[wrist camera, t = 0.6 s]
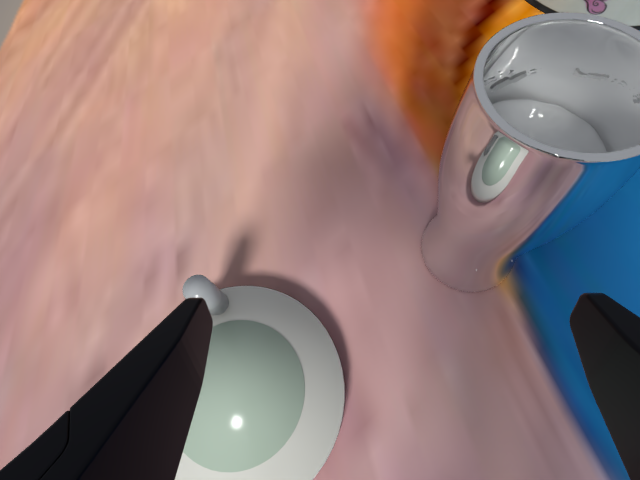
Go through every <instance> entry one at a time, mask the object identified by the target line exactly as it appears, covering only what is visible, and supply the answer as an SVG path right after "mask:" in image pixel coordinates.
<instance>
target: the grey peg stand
mask: <svg viewBox="0 0 640 480" xmlns="http://www.w3.org/2000/svg"><path fill="white" fill-rule="evenodd" d="M183 295H184V297H185V298H186V299H187V298H203V299H204V300H205V301H206V304H207V306H208V309H209V311H210V314H211V316H212V320H213V328H212V334H211V340H210V345H209V351H208V357H207V363H206V368H205V374H204V379H203V384H202V388H201V392H200V395H199V398H198V402H197V405H196V409H195V412H194V416H193V419H192V422H191V426H190V429H189V433H188V436H187V440H186V443H185V446H184V450H183V453H182V457H181V460H180V464H179V467H178V470H177V474H176V477H175V480H313V479H314V478H315V476H316V475H317V473H318V472H319V471H320V469H321V468H322V466H323V465H324V463H325V462H326V460H327V459H328V457H329V455H330V453H331V451H332V449H333V447H334V445H335V442H336V439H337V437H338V434H339V431H340V427H341V423H342V419H343V413H344V404H345V384H344V376H343V370H342V366H341V362H340V358H339V356H338V353H337V351H336V348H335V346H334V343H333V341H332V339H331V337H330V336H329V334H328V332H327V330H326V329H325V327H324V326H323V325H322V323H321V322H320V321H319V319H318V318H317V317H316V316H315V315H314V314H313V313H312V312H311V311H310V310H309V309H308V308H306V307H305V306H304V305H303V304H301V303H300V302H299V301H297V300H295V299H294V298H292V297H290V296H288V295H286V294H284V293H281V292H279V291H276V290H273V289H269V288H265V287H258V286H235V287H228V288H224V289H219V288H218V287H217V286H215V285H214V284H213V283H212V282H211V281H210V280H208V279H207V278H206V277H205V276H203V275H194V276H192V277H190V278H189V279H187V281H186V282H185V283H184V286H183Z"/></svg>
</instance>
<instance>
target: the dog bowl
mask: <svg viewBox="0 0 640 480" xmlns="http://www.w3.org/2000/svg"><path fill="white" fill-rule="evenodd" d="M525 1H527V2H528V3H529V4H531V5H532V6H534V7H535V8H537V9H538V10H540V11H542V12H544V13H546V14H548V13H559V12H571V13H584V14H591V15H596V16H601V17H605V18H609V19H612V20H615V21H618V22H621V23H624V24H626V25H628V26H631V27H633V28H635V29H637V30H640V0H525Z"/></svg>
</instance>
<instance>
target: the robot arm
mask: <svg viewBox="0 0 640 480" xmlns="http://www.w3.org/2000/svg"><path fill="white" fill-rule="evenodd" d="M570 326H571V330H572V333H573V336H574V339H575V342H576V346H577V349H578V352H579V355H580V358H581V362H582V365H583V368H584V371H585V374H586V377H587V380H588V383H589V386H590V389H591V391H592V393H593V396H594V398H595V400H596V403H597V405H598V407H599V409H600V412H601V414H602V416H603V418H604V421H605V423H606V425H607V428H608V430H609V432H610V434H611V437H612V439H613V441H614V443H615V446H616V448H617V450H618V452H619V455H620V457H621V459H622V461H623V464H624V466H625V468H626V470H627V473H628V475H629V477H630V479H631V480H640V318H639V317H638V316H637V315H635V314H634V313H632V312H631V311H629V310H628V309H626V308H625V307H623V306H622V305H620V304H619V303H617V302H616V301H614V300H613V299H611V298H610V297H608V296H607V295H605V294H603V293H584V294H582V295H581V296H580V297H579V299H578V301H577V303H576V305H575V307H574V309H573V311H572V313H571V316H570ZM212 328H213V320H212V316H211V314H210V311H209V309H208V306H207V304H206V301H205V300H204V299H203V298H187V299H185V300H184V301H183V302H182V303H181V304H180V305H179V306H178V307H177V308H176V309H175V310H174V311H172V312H171V313H170V314H169V315H168V316H167V317H166V318H165V319H164V320H163V321H162V322H161V323H160V324H159V325H158V326H157V327H155V328H154V329H153V330H152V331H151V332H150V333H149V334H148V335H147V336H146V337H145V338H144V339H143V340H142V341H141V342H140V343H139V344H137V345H136V346H135V347H134V348H133V349H132V350H131V351H130V352H129V353H128V354H127V355H126V356H125V357H124V358H123V359H122V360H121V361H119V362H118V363H117V364H116V365H115V366H114V367H113V368H112V369H111V370H110V371H109V372H108V373H107V374H106V375H105V376H104V377H102V378H101V379H100V380H99V381H98V382H97V383H96V384H95V385H94V386H93V387H92V388H91V389H90V390H89V391H88V392H87V393H86V394H84V395H83V396H82V397H81V398H80V399H79V400H78V401H77V402H76V403H75V404H74V405H73V406H72V407H71V408H70V411H66V412H65V413H64V414H63V415H62V416H61V417H60V418H59V419H58V420H57V421H56V422H55V423H54V424H53V425H51V426H50V427H49V428H48V429H47V430H46V431H45V432H44V433H43V434H42V435H40V436H39V437H38V438H37V439H36V440H35V441H34V442H33V443H32V444H31V445H29V446H28V447H27V448H26V449H25V450H24V451H22V452H21V453H20V454H19V455H18V456H17V457H15V458H14V459H13V460H12V461H11V462H10V463H8V464H7V465H6V466H5V467H4V468H3V469H1V470H0V480H175V477H176V474H177V470H178V467H179V464H180V460H181V457H182V453H183V450H184V446H185V443H186V440H187V436H188V433H189V429H190V426H191V422H192V419H193V416H194V412H195V409H196V405H197V402H198V398H199V395H200V392H201V388H202V384H203V379H204V374H205V368H206V363H207V357H208V351H209V345H210V340H211V334H212Z"/></svg>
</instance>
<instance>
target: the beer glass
mask: <svg viewBox="0 0 640 480" xmlns="http://www.w3.org/2000/svg"><path fill="white" fill-rule="evenodd" d="M639 169H640V31H639V30H637V29H635V28H633V27H631V26H628V25H626V24H624V23H621V22H618V21H615V20H612V19H609V18H605V17H601V16H596V15H591V14H584V13H571V12H559V13H548V14H541V15H536V16H532V17H528V18H525V19H522V20H519V21H517V22H514V23H512V24H510V25H508V26H507V27H505V28H503V29H502V30H500V31H499V32H497V33H496V34H495V35H494V36H493V37H491V38H490V39H489V40H488V42H487V43H486V44H485V45H484V47H483V48H482V50H481V51H480V53H479V55H478V57H477V59H476V62H475V66H474V69H473V72H472V74H471V76H470V79H469V81H468V83H467V85H466V87H465V90H464V92H463V94H462V97H461V99H460V101H459V104H458V106H457V108H456V111H455V113H454V116H453V119H452V121H451V124H450V127H449V130H448V133H447V136H446V139H445V143H444V147H443V151H442V155H441V160H440V168H439V178H438V213H437V215H436V216H435V217H434V218H433V219H432V220H431V221H430V223H429V224H428V225H427V227H426V229H425V231H424V233H423V236H422V240H421V252H422V257H423V260H424V263H425V265H426V267H427V268H428V270H429V271H430V272H431V274H432V275H433V276H434V277H435V278H436V279H437V280H439V281H440V282H441V283H443V284H444V285H446V286H448V287H450V288H452V289H455V290H458V291H463V292H481V291H486V290H489V289H491V288H494V287H496V286H497V285H499V284H500V283H501V282H502V281H504V279H505V278H506V277H507V276H508V274H509V273H510V271H511V269H512V268H513V265H514V263H515V261H516V258H517V257H519V256H521V255H523V254H525V253H527V252H529V251H531V250H534V249H536V248H538V247H540V246H542V245H544V244H546V243H548V242H550V241H552V240H554V239H556V238H558V237H559V236H561V235H563V234H564V233H566V232H568V231H570V230H571V229H573V228H575V227H576V226H577V225H579V224H580V223H581V222H583V221H584V220H585V219H587V218H588V217H589V216H590V215H592V214H593V213H594V212H596V211H597V210H598V209H599V208H600V207H602V206H603V205H604V204H605V203H606V202H607V201H608V200H609V199H610V198H611V197H612V196H613V195H614V194H615V193H616V192H617V191H619V190H620V189H621V188H622V187H623V186H624V184H625V183H626V182H627V181H628V180H629V179H630V178H631V177H632V176H633V175H634V174H635V173H636V172H637V171H638V170H639Z"/></svg>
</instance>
